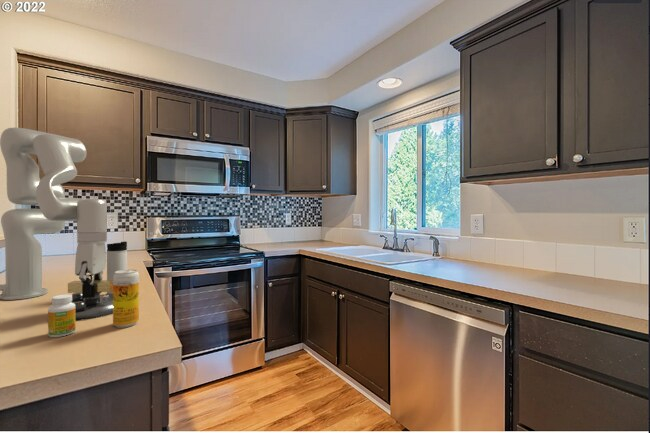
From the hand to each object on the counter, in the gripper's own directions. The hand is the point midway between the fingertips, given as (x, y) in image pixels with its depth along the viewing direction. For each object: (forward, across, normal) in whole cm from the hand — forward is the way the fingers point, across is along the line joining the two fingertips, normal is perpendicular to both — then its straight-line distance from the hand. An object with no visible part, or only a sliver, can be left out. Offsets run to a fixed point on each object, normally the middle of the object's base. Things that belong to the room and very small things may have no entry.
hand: (92, 294), depth 98 cm
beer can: (+5, +16, +14) cm, 22 cm away
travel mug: (+5, -18, +1) cm, 19 cm away
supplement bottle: (+5, +19, +1) cm, 20 cm away
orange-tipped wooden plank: (+3, 0, 0) cm, 3 cm away
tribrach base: (+5, 0, 0) cm, 5 cm away
